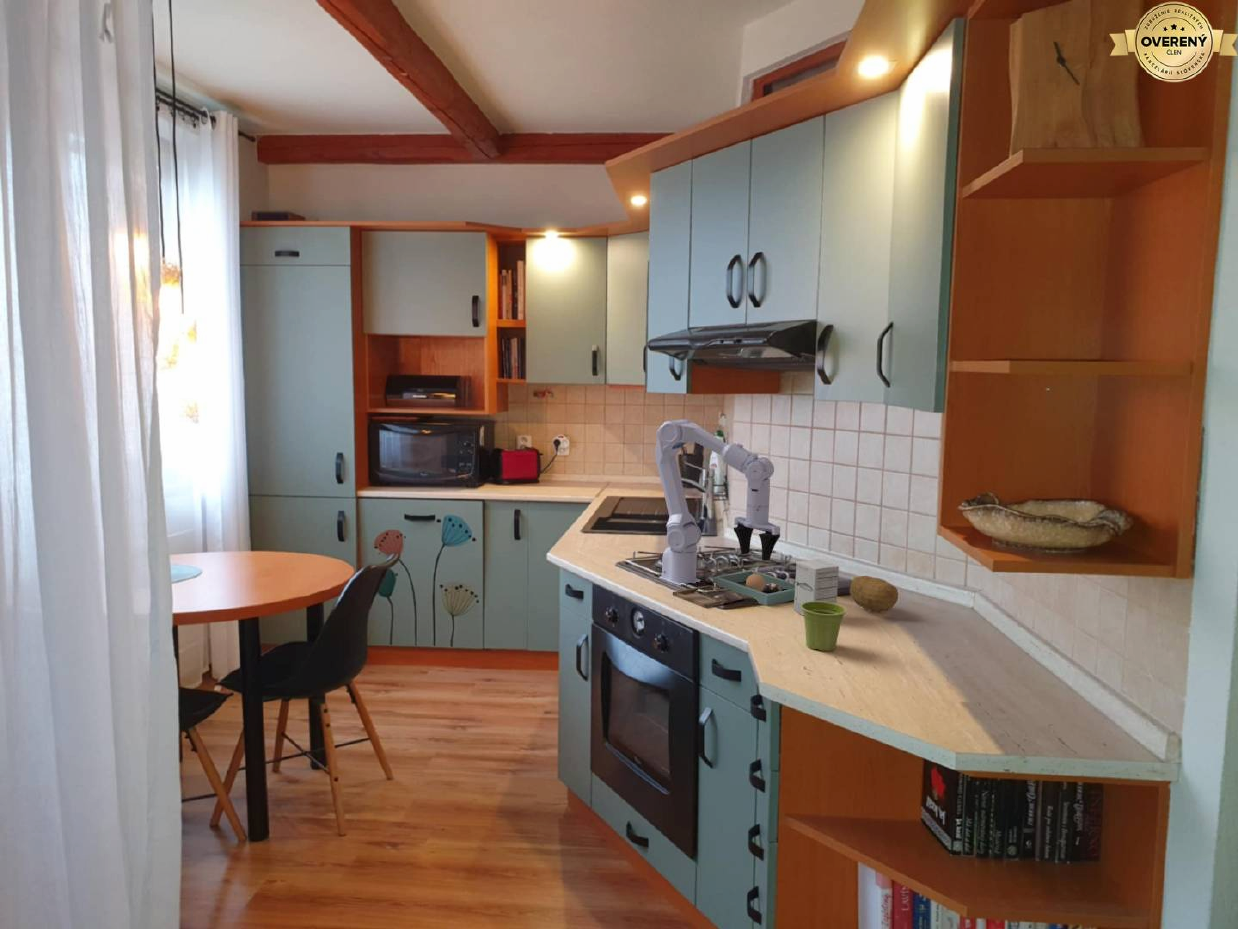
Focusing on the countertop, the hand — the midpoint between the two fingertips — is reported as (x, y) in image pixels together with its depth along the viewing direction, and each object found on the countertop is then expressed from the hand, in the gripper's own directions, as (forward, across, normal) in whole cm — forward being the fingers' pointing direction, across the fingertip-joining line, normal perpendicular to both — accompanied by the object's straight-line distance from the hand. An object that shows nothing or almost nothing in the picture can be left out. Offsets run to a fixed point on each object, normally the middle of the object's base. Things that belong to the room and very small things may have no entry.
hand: (755, 556), depth 213 cm
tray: (+10, 0, +2) cm, 10 cm away
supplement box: (+10, +20, 0) cm, 23 cm away
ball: (+10, 0, 0) cm, 10 cm away
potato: (+10, +25, +15) cm, 31 cm away
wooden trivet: (+10, -3, -14) cm, 17 cm away
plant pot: (+10, +36, -16) cm, 41 cm away
